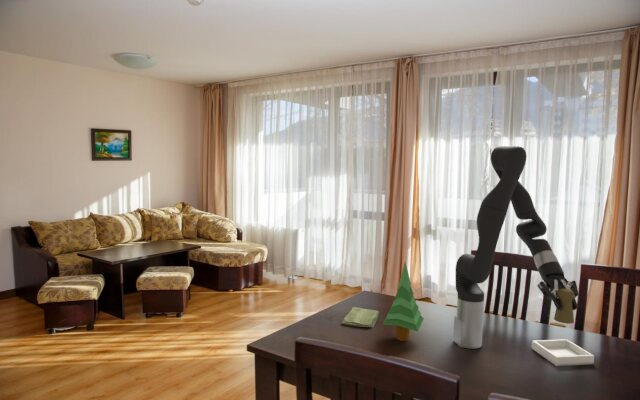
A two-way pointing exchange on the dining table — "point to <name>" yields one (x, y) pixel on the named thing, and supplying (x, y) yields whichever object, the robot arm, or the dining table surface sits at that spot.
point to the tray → (562, 352)
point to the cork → (565, 306)
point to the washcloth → (361, 317)
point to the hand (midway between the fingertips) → (568, 309)
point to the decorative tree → (404, 309)
